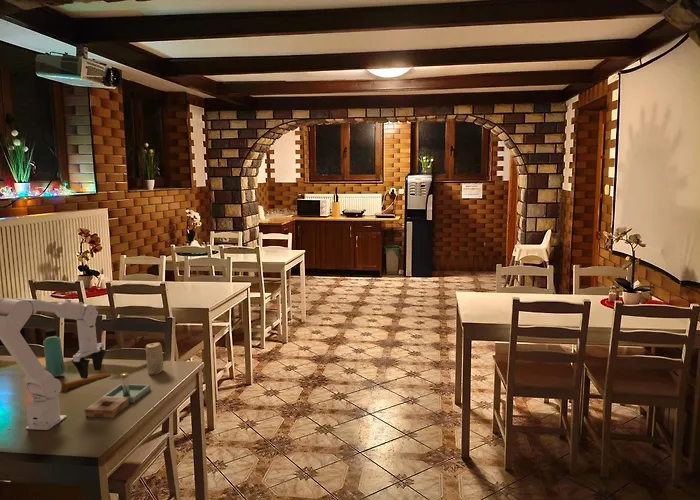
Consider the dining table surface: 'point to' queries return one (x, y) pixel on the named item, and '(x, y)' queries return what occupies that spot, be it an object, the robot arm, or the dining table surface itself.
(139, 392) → the tray
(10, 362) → the dining table surface
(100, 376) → the primitive tool
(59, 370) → the beverage bottle
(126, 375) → the pin
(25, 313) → the robot arm
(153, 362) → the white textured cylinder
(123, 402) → the socket block
